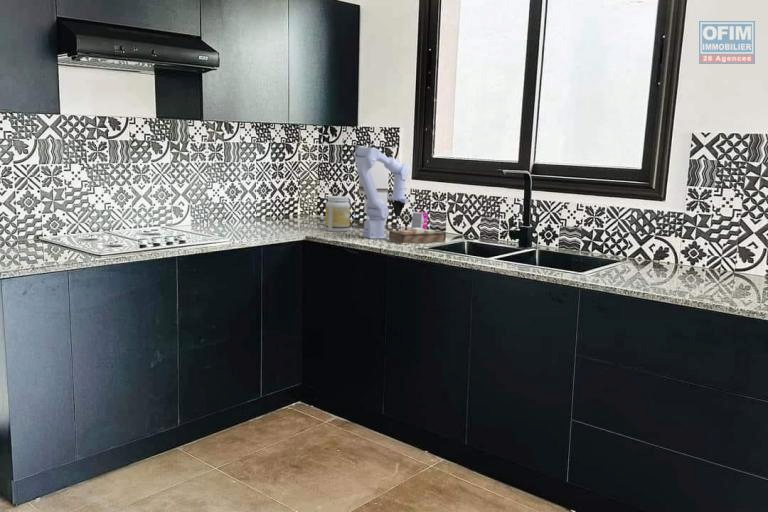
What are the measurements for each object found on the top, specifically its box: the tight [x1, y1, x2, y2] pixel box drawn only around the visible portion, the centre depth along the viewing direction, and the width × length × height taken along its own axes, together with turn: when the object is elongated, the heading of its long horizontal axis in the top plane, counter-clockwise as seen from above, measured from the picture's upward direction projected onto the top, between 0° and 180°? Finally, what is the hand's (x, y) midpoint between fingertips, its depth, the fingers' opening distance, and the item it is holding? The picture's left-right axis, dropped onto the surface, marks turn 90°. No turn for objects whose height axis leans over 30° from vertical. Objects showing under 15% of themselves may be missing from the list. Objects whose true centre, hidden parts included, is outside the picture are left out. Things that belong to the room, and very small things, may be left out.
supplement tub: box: [324, 195, 351, 233], centre depth 344 cm, size 12×12×17 cm
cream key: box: [410, 227, 424, 233], centre depth 324 cm, size 4×4×4 cm
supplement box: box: [411, 211, 429, 230], centre depth 343 cm, size 6×6×12 cm
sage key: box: [424, 229, 436, 233], centre depth 327 cm, size 4×4×4 cm
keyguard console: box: [388, 229, 447, 244], centre depth 324 cm, size 24×12×4 cm, turn 122°
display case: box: [356, 160, 390, 230], centre depth 358 cm, size 11×11×35 cm
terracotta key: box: [399, 229, 413, 233], centre depth 320 cm, size 4×4×4 cm
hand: (397, 216), depth 338 cm, fingers closed
